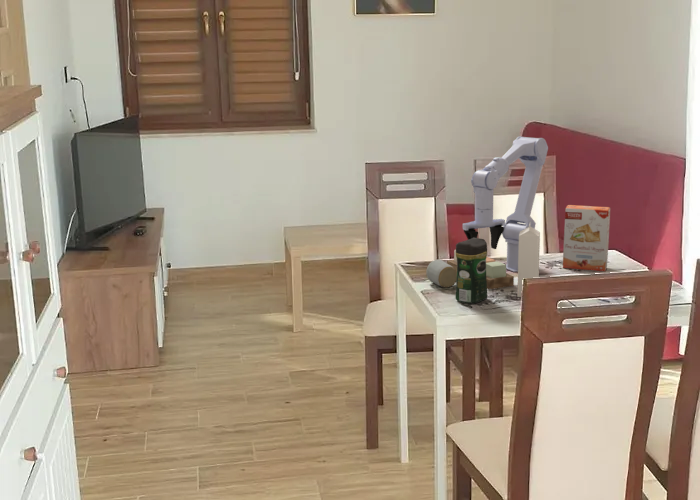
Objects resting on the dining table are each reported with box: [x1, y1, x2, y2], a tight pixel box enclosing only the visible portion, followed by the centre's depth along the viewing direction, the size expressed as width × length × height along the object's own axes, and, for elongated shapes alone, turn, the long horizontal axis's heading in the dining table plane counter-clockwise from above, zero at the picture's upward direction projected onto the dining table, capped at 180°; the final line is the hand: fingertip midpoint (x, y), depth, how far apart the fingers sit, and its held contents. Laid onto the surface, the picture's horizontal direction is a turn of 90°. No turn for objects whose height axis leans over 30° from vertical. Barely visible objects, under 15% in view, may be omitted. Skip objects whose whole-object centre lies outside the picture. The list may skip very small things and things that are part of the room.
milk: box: [516, 224, 541, 298], centre depth 256 cm, size 6×6×22 cm
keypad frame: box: [446, 259, 515, 290], centre depth 279 cm, size 9×27×3 cm, turn 22°
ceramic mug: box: [425, 259, 457, 289], centre depth 271 cm, size 11×8×8 cm
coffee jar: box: [455, 237, 488, 304], centre depth 253 cm, size 10×8×19 cm
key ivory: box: [453, 249, 457, 262], centre depth 287 cm, size 5×5×4 cm
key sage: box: [486, 260, 507, 278], centre depth 269 cm, size 5×5×4 cm
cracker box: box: [562, 204, 611, 272], centre depth 284 cm, size 14×6×21 cm, turn 68°
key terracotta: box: [486, 256, 496, 263], centre depth 275 cm, size 5×5×4 cm
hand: (483, 249), depth 274 cm, fingers open, 7 cm apart
